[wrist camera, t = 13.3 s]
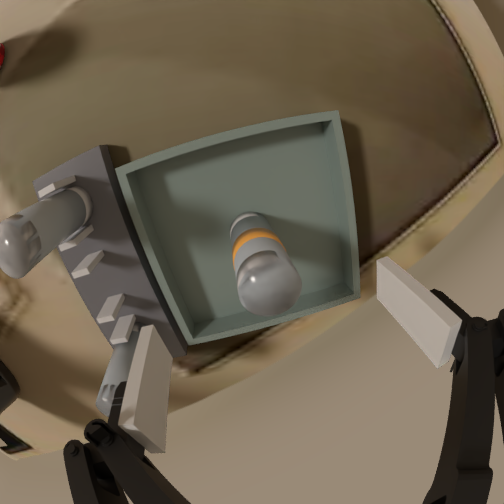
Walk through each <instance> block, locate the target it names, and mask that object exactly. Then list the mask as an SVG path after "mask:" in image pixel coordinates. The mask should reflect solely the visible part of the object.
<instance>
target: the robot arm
mask: <svg viewBox="0 0 504 504" xmlns="http://www.w3.org/2000/svg"><path fill="white" fill-rule="evenodd" d="M377 299H378V300H379V301H380V302H381V303H382V304H383V306H384V307H385V308H386V309H387V310H388V311H389V312H390V313H391V314H392V316H393V317H394V318H395V319H396V320H397V321H398V323H399V324H400V325H401V326H402V327H403V328H404V329H405V330H406V332H407V333H408V334H409V335H410V336H411V337H412V339H413V340H414V341H415V342H416V343H417V345H418V346H419V347H420V348H421V349H422V351H423V352H424V353H425V354H426V355H427V357H428V358H429V359H430V360H431V362H432V363H433V364H434V365H435V366H436V368H437V369H438V368H439V367H441V366H443V365H444V364H446V363H447V362H449V359H450V356H451V354H452V355H453V356H454V357H455V360H454V362H453V365H452V367H451V370H450V372H452V371H453V382H452V392H451V401H450V410H449V416H448V422H447V428H446V433H445V438H444V443H443V447H442V451H441V456H440V460H439V463H438V467H437V471H436V474H435V478H434V481H433V484H432V486H431V488H430V490H429V491H428V493H427V495H426V497H425V499H424V501H423V504H486V503H487V499H488V495H489V491H490V487H491V483H492V477H493V471H492V469H491V468H490V467H489V459H490V452H491V444H492V437H493V426H494V409H495V395H496V399H497V405H498V410H499V414H500V421H501V427H502V434H503V442H504V309H502V310H501V311H500V312H499V316H498V318H496V319H493V320H489V321H486V320H485V319H483V318H481V317H473V318H472V317H470V316H469V315H468V314H467V313H466V312H465V311H464V310H463V309H461V308H460V307H459V306H458V305H457V304H456V303H454V302H453V301H452V300H451V299H449V297H448V296H446V295H445V294H444V293H443V292H441V291H438V290H436V289H433V290H430V291H429V290H428V289H427V288H425V287H424V286H423V285H422V284H421V283H420V282H418V281H417V280H416V279H415V278H413V277H412V276H411V275H410V274H409V273H407V272H406V271H405V270H404V269H403V268H401V267H400V266H399V265H398V264H396V263H395V262H394V261H393V260H391V259H390V258H389V257H384V258H381V259H378V260H377ZM172 359H173V358H172V356H171V354H170V353H169V351H168V349H167V348H166V346H165V344H164V342H163V341H162V339H161V337H160V335H159V334H158V332H157V330H156V328H155V326H154V325H149V326H144V327H142V328H141V331H140V335H139V338H138V342H137V345H136V349H135V353H134V357H133V360H132V364H131V368H130V372H129V376H128V380H127V381H124V382H120V384H119V385H118V387H117V388H116V390H115V394H114V399H113V402H112V406H111V410H110V415H109V419H108V423H106V422H105V421H104V420H102V419H94V420H92V421H90V422H89V423H88V424H87V426H86V428H85V430H84V436H85V439H87V440H88V441H89V442H90V443H86V444H82V443H81V442H80V441H79V440H71V441H69V442H68V443H67V444H66V445H65V447H64V453H63V454H64V461H65V466H66V471H67V476H68V481H69V485H70V489H71V494H72V498H73V501H74V504H129V503H128V501H127V498H126V496H125V493H126V494H127V495H128V497H129V498H130V499H131V501H132V502H133V503H134V504H191V503H190V502H188V501H187V500H186V499H185V498H184V497H183V496H182V495H181V494H180V493H179V492H178V491H177V490H176V489H175V488H174V487H173V486H172V485H171V483H170V482H169V481H168V480H167V479H166V478H165V477H164V476H163V475H162V474H161V473H160V472H159V470H158V469H157V468H156V467H155V466H154V465H153V464H152V462H151V461H150V460H149V459H148V458H147V457H146V456H145V455H144V450H145V449H146V450H148V451H149V452H150V453H165V446H166V427H167V413H168V400H169V388H170V378H171V368H172ZM19 393H20V389H19V386H18V384H17V382H16V380H15V378H14V377H13V375H12V374H11V373H10V371H9V370H8V369H7V368H6V367H5V366H4V364H3V363H2V362H1V361H0V414H1V413H2V412H3V411H4V410H5V409H6V408H7V407H9V406H10V405H11V404H12V403H13V402H14V401H15V400H16V399H17V397H18V395H19ZM123 490H124V491H125V493H124V491H123Z"/></svg>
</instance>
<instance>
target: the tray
mask: <svg viewBox="0 0 504 504" xmlns="http://www.w3.org/2000/svg"><path fill="white" fill-rule="evenodd" d="M115 171H116V174H117V177H118V180H119V183H120V186H121V189H122V192H123V195H124V198H125V201H126V204H127V206H128V209H129V212H130V215H131V217H132V220H133V223H134V225H135V228H136V231H137V233H138V236H139V238H140V241H141V243H142V246H143V248H144V251H145V253H146V256H147V258H148V260H149V263H150V265H151V268H152V270H153V272H154V274H155V277H156V279H157V281H158V283H159V286H160V288H161V290H162V292H163V294H164V297H165V299H166V301H167V303H168V305H169V307H170V309H171V311H172V313H173V315H174V317H175V319H176V321H177V323H178V325H179V327H180V329H181V331H182V333H183V335H184V337H185V339H186V341H187V343H188V345H194V344H199V343H203V342H208V341H212V340H217V339H221V338H225V337H229V336H233V335H237V334H241V333H245V332H249V331H253V330H257V329H261V328H264V327H268V326H272V325H275V324H279V323H282V322H286V321H289V320H293V319H296V318H300V317H303V316H306V315H309V314H313V313H316V312H319V311H322V310H325V309H328V308H331V307H335V306H338V305H341V304H344V303H346V302H349V301H352V300H355V299H358V298H360V271H359V254H358V240H357V228H356V218H355V209H354V200H353V192H352V185H351V178H350V171H349V164H348V158H347V152H346V147H345V141H344V136H343V131H342V126H341V121H340V116H339V112H338V110H336V111H328V112H320V113H314V114H307V115H301V116H295V117H289V118H284V119H279V120H274V121H269V122H264V123H259V124H255V125H250V126H246V127H242V128H238V129H234V130H230V131H226V132H222V133H218V134H215V135H211V136H207V137H204V138H200V139H197V140H194V141H190V142H187V143H184V144H181V145H178V146H175V147H172V148H169V149H166V150H163V151H160V152H157V153H154V154H151V155H149V156H146V157H143V158H141V159H138V160H135V161H133V162H130V163H128V164H125V165H123V166H120V167H118V168H115ZM249 211H253V212H258V213H260V214H262V215H263V216H264V217H265V218H266V219H267V220H268V222H269V223H270V225H271V227H272V228H273V230H274V232H275V234H276V235H277V236H278V238H279V239H280V241H281V243H282V244H283V246H284V248H285V249H286V252H287V254H288V256H289V258H290V259H291V261H292V263H293V265H294V266H295V268H296V270H297V272H298V273H299V275H300V278H301V281H302V290H301V294H300V296H299V298H298V300H297V302H296V303H295V304H294V305H293V306H292V307H291V308H290V309H288V310H287V311H285V312H283V313H281V314H278V315H275V316H258V315H255V314H253V313H251V312H249V311H248V310H246V309H245V308H244V306H243V305H242V304H241V302H240V300H239V296H238V289H237V282H236V275H235V270H234V266H233V258H232V246H231V239H230V226H231V224H232V222H233V220H234V219H235V218H236V217H237V216H238V215H240V214H242V213H244V212H249Z"/></svg>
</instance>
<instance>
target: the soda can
mask: <svg viewBox="0 0 504 504" xmlns="http://www.w3.org/2000/svg"><path fill="white" fill-rule="evenodd" d="M4 54H5V49H4V45H3V44H2V43H0V69H1V66H2V63H3V60H4Z"/></svg>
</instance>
